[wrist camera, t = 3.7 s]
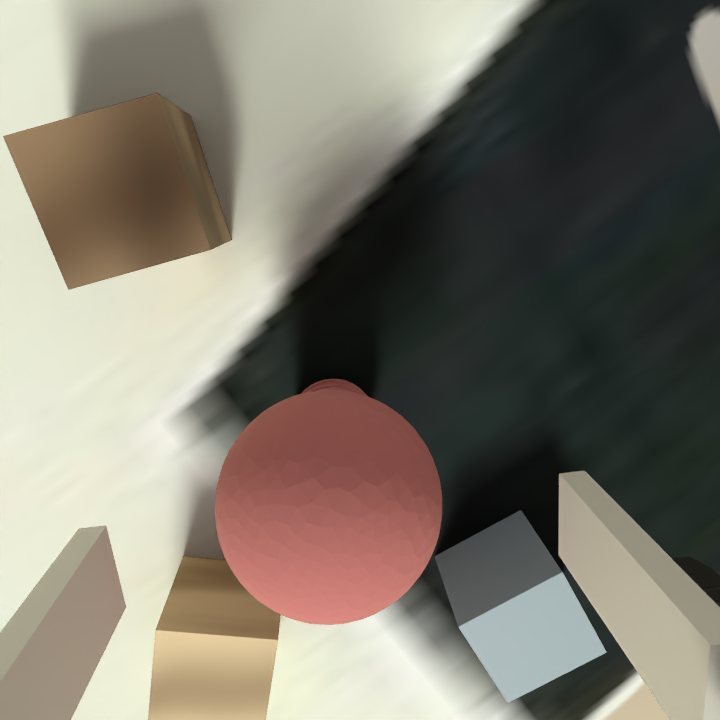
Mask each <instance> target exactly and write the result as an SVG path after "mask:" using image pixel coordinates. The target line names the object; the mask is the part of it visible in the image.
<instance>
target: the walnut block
mask: <svg viewBox="0 0 720 720" xmlns="http://www.w3.org/2000/svg"><path fill="white" fill-rule="evenodd" d="M3 137H4V140H5V142H6V144H7V147H8V149H9V151H10V154H11V156H12V158H13V161H14V163H15V165H16V168H17V170H18V172H19V175H20V177H21V179H22V182H23V184H24V186H25V189H26V191H27V194H28V196H29V198H30V201H31V203H32V205H33V208H34V210H35V212H36V215H37V217H38V219H39V222H40V224H41V226H42V229H43V231H44V233H45V236H46V238H47V240H48V243H49V245H50V248H51V250H52V252H53V255H54V257H55V259H56V262H57V264H58V266H59V269H60V271H61V273H62V276H63V278H64V280H65V283H66V285H67V287H68V290H69V289H73V288H76V287H80V286H83V285H87V284H91V283H94V282H98V281H101V280H105V279H108V278H112V277H115V276H119V275H123V274H126V273H130V272H133V271H137V270H140V269H144V268H147V267H151V266H155V265H158V264H162V263H165V262H169V261H172V260H176V259H179V258H183V257H186V256H190V255H194V254H197V253H201V252H204V251H208V250H211V249H213V248H215V247H218V246H220V245H222V244H224V243H226V242H228V241H230V240H232V239H231V236H230V233H229V230H228V227H227V224H226V221H225V218H224V215H223V212H222V209H221V206H220V203H219V200H218V197H217V194H216V191H215V188H214V184H213V181H212V178H211V175H210V172H209V169H208V166H207V163H206V160H205V157H204V154H203V151H202V148H201V145H200V142H199V139H198V136H197V133H196V130H195V127H194V124H193V121H192V118H191V116H190V115H189V114H187V113H186V112H184V111H183V110H181V109H180V108H179V107H177V106H176V105H174V104H173V103H171V102H170V101H168V100H167V99H165V98H164V97H162V96H161V95H160V94H158V93H155V94H151V95H148V96H144V97H141V98H137V99H134V100H130V101H127V102H123V103H120V104H116V105H112V106H109V107H105V108H102V109H98V110H95V111H91V112H88V113H84V114H80V115H77V116H73V117H70V118H66V119H63V120H59V121H56V122H52V123H49V124H45V125H41V126H38V127H34V128H31V129H27V130H24V131H20V132H17V133H13V134H9V135H6V136H3Z"/></svg>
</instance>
